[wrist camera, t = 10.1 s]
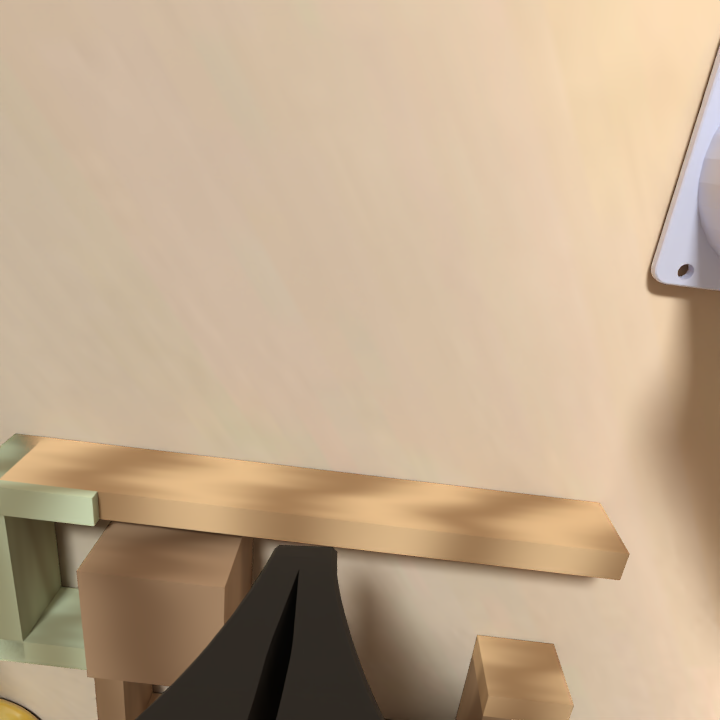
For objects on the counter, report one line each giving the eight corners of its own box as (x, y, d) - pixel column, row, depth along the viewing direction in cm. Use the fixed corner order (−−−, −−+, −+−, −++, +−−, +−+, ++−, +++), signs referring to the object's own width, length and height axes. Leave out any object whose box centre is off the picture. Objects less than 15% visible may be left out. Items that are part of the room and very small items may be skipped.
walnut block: (255, 498, 24) (224, 587, 19) (251, 590, 26) (222, 692, 21) (136, 485, 24) (76, 570, 19) (140, 578, 26) (87, 677, 21)
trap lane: (600, 502, 23) (634, 561, 20) (518, 751, 29) (534, 827, 26) (15, 433, 23) (-44, 482, 20) (50, 697, 29) (8, 767, 26)
